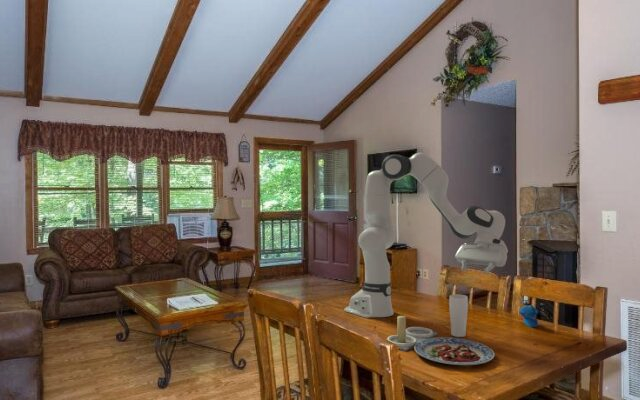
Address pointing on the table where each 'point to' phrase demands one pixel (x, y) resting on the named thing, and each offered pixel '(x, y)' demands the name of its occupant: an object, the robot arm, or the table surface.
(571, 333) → the table surface
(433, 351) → the ceramic plate
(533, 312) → the blue lumpy upright piece
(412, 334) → the candle holder dish
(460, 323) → the drinking glass
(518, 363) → the table surface
